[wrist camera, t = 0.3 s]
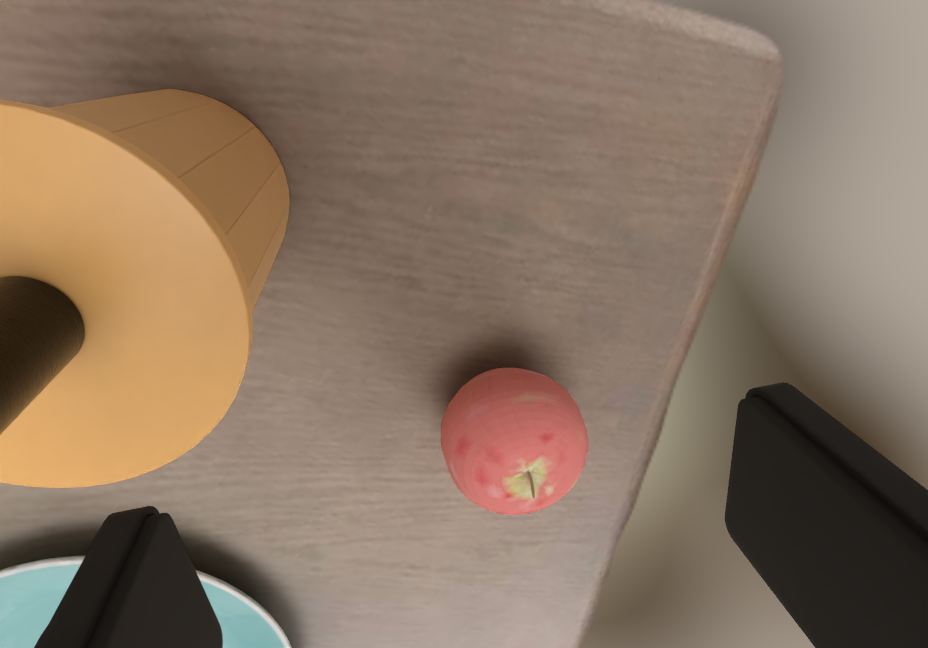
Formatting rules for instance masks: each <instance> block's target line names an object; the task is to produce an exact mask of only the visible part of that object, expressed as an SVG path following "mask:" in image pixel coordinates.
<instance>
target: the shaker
mask: <svg viewBox="0 0 928 648" xmlns="http://www.w3.org/2000/svg"><path fill="white" fill-rule="evenodd" d="M48 108H49V109H52V110H55V111H59V112H62V113H65V114H69V115H72V116H75V117H77V118H80V119H82V120H84V121H87V122H89V123H91V124H94V125H96V126H99V127H101V128H103V129H106V130H108V131H109V132H111V133H113V134H115V135H117V136H118V137H120V138H122V139H124V140H126V141H127V142H129V143H131V144H133V145H135V146H136V147H138V148H139V149H141V150H142V151H143V152H145V153H146V154H148V155H149V156H150V157H152V158H153V159H155V160H156V161H158V162H159V163H160V164H162V165H163V166H164V167H165V168H167V169H168V170H169V171H170V172H171V173H172V174H173V175H175V176H176V177H177V178H178V179H179V180H180V181H181V182H182V183H184V184H185V185H186V186H187V187H188V188H189V189H190V190H191V191H192V193H193V194H194V195H195V196H196V197H197V198H198V199H199V200H200V201H201V203H202V204H203V205H204V206H205V207H206V208H207V209H208V211H209V212H210V213H211V215H212V216H213V218H214V219H215V220H216V222H217V223H218V225H219V226H220V227H221V229H222V230H223V232H224V233H225V235H226V237H227V239H228V241H229V243H230V245H231V246H232V248H233V250H234V252H235V254H236V256H237V258H238V261H239V263H240V266H241V269H242V271H243V274H244V276H245V279H246V283H247V287H248V292H249V296H250V300H251V308H252V313H253V310H254V308H255V306H256V303H257V301H258V298H259V296H260V294H261V291H262V289H263V287H264V284H265V282H266V279H267V277H268V275H269V272H270V270H271V268H272V265H273V263H274V260H275V258H276V256H277V253H278V251H279V249H280V246H281V244H282V241H283V239H284V237H285V232H286V226H287V222H288V217H289V208H290V197H289V188H288V183H287V178H286V175H285V172H284V169H283V166H282V164H281V162H280V160H279V158H278V156H277V154H276V152H275V151H274V149H273V147H272V146H271V144H270V143H269V141H268V140H267V139H266V138H265V136H264V135H263V134H262V133H261V131H260V130H258V129H257V128H256V127H255V126H254V125H253V124H252V123H251V122H250V121H249V120H248V119H247V118H245V117H244V116H243V115H241V114H240V113H239V112H237V111H236V110H234V109H232V108H231V107H229V106H228V105H226V104H224V103H222V102H220V101H217V100H215V99H213V98H210V97H207V96H204V95H201V94H198V93H193V92H188V91H182V90H177V89H163V90H156V91H149V92H141V93H134V94H127V95H121V96H115V97H109V98H103V99H97V100H91V101H85V102H79V103H72V104H66V105H60V106H54V107H48Z"/></svg>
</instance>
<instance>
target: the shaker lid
mask: <svg viewBox="0 0 928 648" xmlns="http://www.w3.org/2000/svg"><path fill="white" fill-rule="evenodd" d="M252 333H253V320H252V308H251V300H250V296H249V292H248V287H247V283H246V279H245V276H244V274H243V271H242V269H241V266H240V263H239V261H238V258H237V256H236V254H235V252H234V250H233V248H232V246H231V245H230V243H229V241H228V239H227V237H226V235H225V233H224V232H223V230H222V229H221V227H220V226H219V225H218V223H217V222H216V220H215V219H214V218H213V216H212V215H211V213H210V212H209V211H208V209H207V208H206V207H205V206H204V205H203V204H202V203H201V201H200V200H199V199H198V198H197V197H196V196H195V195H194V194H193V193H192V191H191V190H190V189H189V188H188V187H187V186H186V185H185V184H184V183H182V182H181V181H180V180H179V179H178V178H177V177H176V176H175V175H173V174H172V173H171V172H170V171H169V170H168V169H167V168H165V167H164V166H163V165H162V164H160V163H159V162H158V161H156V160H155V159H153V158H152V157H150V156H149V155H148V154H146V153H145V152H143V151H142V150H141V149H139V148H138V147H136V146H135V145H133V144H131V143H129V142H127V141H126V140H124V139H122V138H120V137H118V136H117V135H115V134H113V133H111V132H109V131H108V130H106V129H103V128H101V127H99V126H96V125H94V124H91V123H89V122H87V121H84V120H82V119H80V118H77V117H75V116H72V115H69V114H65V113H62V112H59V111H55V110H52V109H49V108H45V107H42V106H38V105H32V104H27V103H21V102H16V101H10V100H3V99H0V482H2V483H9V484H16V485H23V486H30V487H48V488H71V487H88V486H95V485H102V484H109V483H113V482H117V481H121V480H125V479H129V478H133V477H136V476H139V475H142V474H144V473H147V472H150V471H152V470H155V469H157V468H159V467H161V466H163V465H165V464H167V463H169V462H171V461H173V460H175V459H177V458H178V457H180V456H181V455H183V454H184V453H185V452H187V451H188V450H190V449H191V448H193V447H194V446H196V445H197V444H198V443H199V442H200V441H201V440H202V439H203V438H204V437H206V436H207V435H208V434H209V433H210V432H211V431H212V430H213V429H214V427H215V426H216V425H217V424H218V422H219V421H220V420H221V419H222V418H223V416H224V415H225V414H226V412H227V410H228V409H229V407H230V405H231V404H232V402H233V400H234V399H235V397H236V394H237V392H238V389H239V387H240V384H241V382H242V379H243V377H244V374H245V371H246V369H247V365H248V360H249V356H250V352H251V347H252Z"/></svg>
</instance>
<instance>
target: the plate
mask: <svg viewBox="0 0 928 648" xmlns="http://www.w3.org/2000/svg"><path fill="white" fill-rule="evenodd" d="M85 556H86V555H84V556H69V557H59V558H51V559H44V560H38V561H33V562H28V563H24V564H20V565H15V566H11V567H8V568H5V569H2V570H0V648H34V647H35V645H36V643H37V641H38V639H39V638H40V636H41V634H42V633H43V631H44V630H45V629H46V627H47V626H48V624H49V622H50V620H51V619H52V617H53V615H54V613H55V611H56V609H57V608H58V606H59V604H60V602H61V600H62V598H63V596H64V595H65V593H66V591H67V589H68V587H69V585H70V584H71V582H72V580H73V578H74V576H75V574H76V572H77V571H78V569H79V567H80V565H81V563H82V561H83V559H84V558H85ZM196 573H197V575H198V577H199V579H200V581H201V584H202V586H203V588H204V590H205V593H206V595H207V597H208V599H209V601H210V604H211V606H212V608H213V610H214V612H215V615H216V617H217V619H218V621H219V623H220V626H221V629H222V635H223V648H292V647H291V644H290V642H289V640H288V638H287V636H286V635H285V633H284V632H283V630H282V628H281V627H280V626H279V624H278V623H277V622H276V621H275V619H274V618H273V617H272V616H271V615H270V614H269V613H268V612H267V611H266V610H265V609H264V608H263V607H262V606H261V605H260V604H259V603H258V602H256V601H255V600H254V599H252V598H251V597H250V596H248V595H247V594H245V593H244V592H242V591H241V590H239V589H237V588H235V587H234V586H232V585H230V584H228V583H227V582H225V581H223V580H221V579H218V578H216V577H213V576H211V575H209V574H206V573H203V572H201V571H198V570H196Z"/></svg>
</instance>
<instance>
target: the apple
mask: <svg viewBox="0 0 928 648" xmlns="http://www.w3.org/2000/svg"><path fill="white" fill-rule="evenodd" d="M441 446H442V451H443V454H444V457H445V460H446V464H447V467H448V470H449V472H450V475H451V477H452V478H453V480H454V482H455V484H456V486H457V487H458V489H459V490H460V491H461V492H462V493H463V494H464V495H465V496H466V498H467V499H469V500H470V501H471V502H473V503H475V504H476V505H478V506H480V507H482V508H484V509H486V510H489V511H492V512H496V513H499V514H509V515H521V514H529V513H532V512H535V511H538V510H542V509H544V508H546V507H548V506H549V505H551V504H553V503H555V502H556V501H558V500H559V499H560V498H562V497H563V496H564V495H566V494H567V493H568V492H569V491H570V489H571V488H572V487H573V486H574V484H575V483H576V482H577V480H578V478H579V476H580V474H581V472H582V470H583V467H584V465H585V461H586V456H587V451H588V438H587V430H586V427H585V424H584V421H583V418H582V416H581V413H580V410H579V408H578V406H577V404H576V403H575V401H574V400H573V398H572V397H571V395H570V394H569V393H568V391H567V390H566V389H565V388H564V387H562V386H561V385H560V384H558V383H557V382H555V381H554V380H553V379H551V378H550V377H548V376H545V375H543V374H540V373H537V372H534V371H531V370H526V369H519V368H497V369H493V370H489V371H486V372H484V373H482V374H480V375H478V376H476V377H474V378H472V379H471V380H470V381H469V382H467V383H466V384H465V385H464V386H462V387H461V388H460V390H459V391H458V392H457V394H456V395H455V396H454V397H453V399H452V400H451V401H450V403H449V404H448V407H447V409H446V412H445V414H444V417H443V419H442V424H441Z"/></svg>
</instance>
